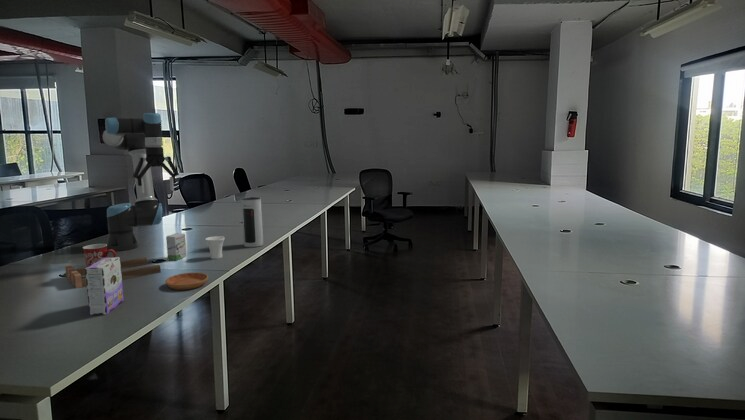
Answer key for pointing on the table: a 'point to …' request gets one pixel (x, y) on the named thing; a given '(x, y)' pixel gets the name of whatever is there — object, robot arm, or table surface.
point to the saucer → (186, 281)
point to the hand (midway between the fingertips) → (157, 191)
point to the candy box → (104, 285)
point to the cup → (215, 246)
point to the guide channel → (78, 282)
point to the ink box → (176, 246)
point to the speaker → (252, 222)
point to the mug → (96, 253)
